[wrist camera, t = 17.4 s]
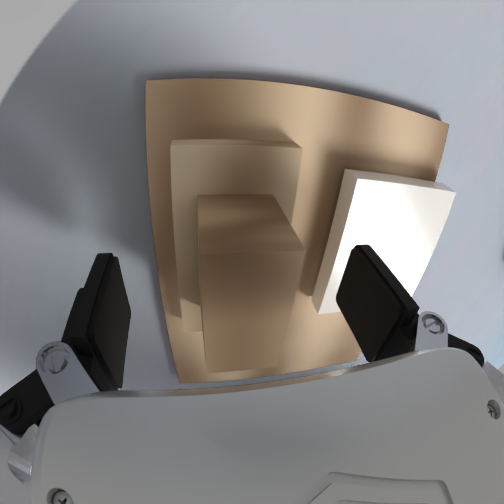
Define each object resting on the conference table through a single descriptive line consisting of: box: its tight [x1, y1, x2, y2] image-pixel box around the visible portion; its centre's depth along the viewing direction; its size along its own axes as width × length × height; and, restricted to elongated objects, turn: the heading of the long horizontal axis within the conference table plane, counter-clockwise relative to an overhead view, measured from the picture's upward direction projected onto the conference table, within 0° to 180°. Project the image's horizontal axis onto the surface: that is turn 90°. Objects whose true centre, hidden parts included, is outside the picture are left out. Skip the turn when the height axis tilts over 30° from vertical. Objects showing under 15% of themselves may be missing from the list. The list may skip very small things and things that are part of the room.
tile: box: [311, 169, 456, 314], centre depth 15 cm, size 7×1×8 cm
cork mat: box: [146, 78, 449, 383], centre depth 16 cm, size 15×20×1 cm
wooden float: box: [170, 139, 306, 373], centre depth 12 cm, size 5×10×5 cm, turn 175°
